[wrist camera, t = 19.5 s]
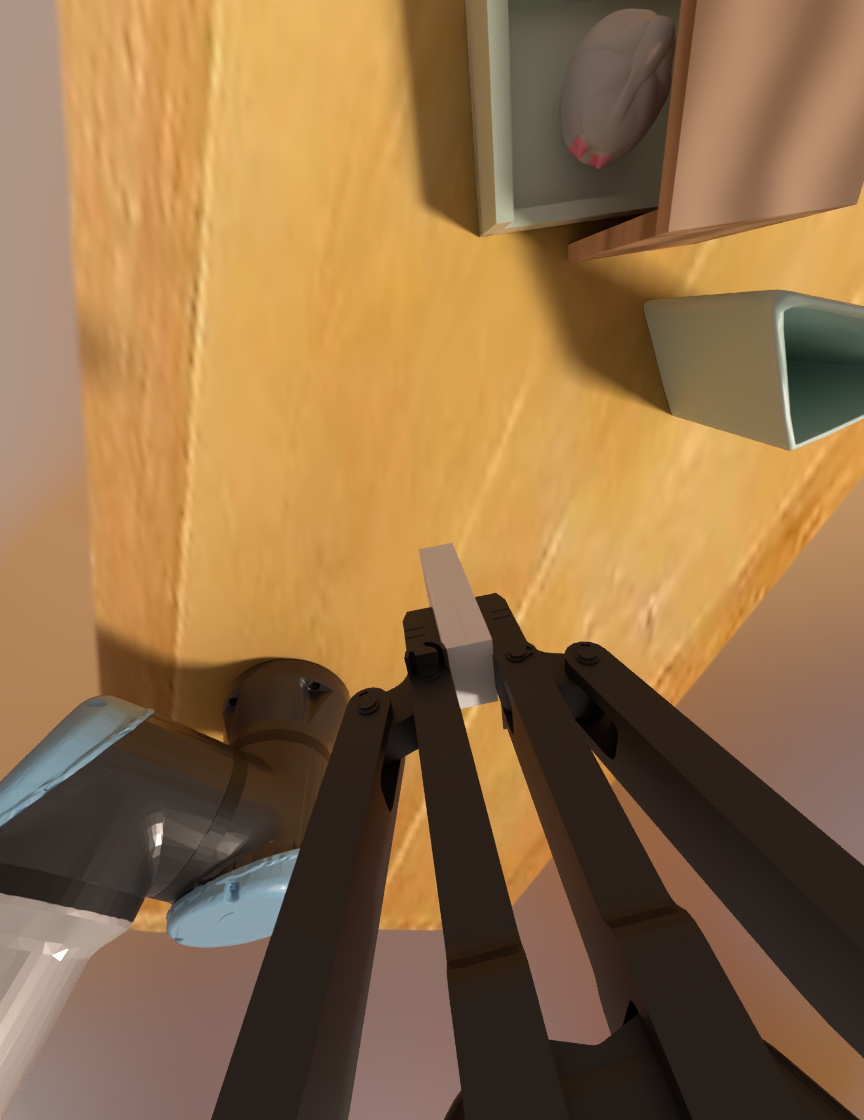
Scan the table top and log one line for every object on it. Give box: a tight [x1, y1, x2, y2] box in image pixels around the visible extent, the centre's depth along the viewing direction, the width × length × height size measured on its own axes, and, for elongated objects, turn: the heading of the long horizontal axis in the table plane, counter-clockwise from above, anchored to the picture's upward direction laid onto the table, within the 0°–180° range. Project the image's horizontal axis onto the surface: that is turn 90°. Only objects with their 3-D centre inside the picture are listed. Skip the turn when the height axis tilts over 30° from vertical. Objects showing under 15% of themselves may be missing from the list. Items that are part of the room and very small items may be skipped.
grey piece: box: [644, 290, 864, 451], centre depth 31 cm, size 16×8×20 cm, turn 74°
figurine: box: [559, 9, 676, 169], centre depth 26 cm, size 6×7×8 cm
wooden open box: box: [568, 0, 864, 263], centre depth 24 cm, size 11×17×13 cm, turn 8°
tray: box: [465, 0, 681, 237], centre depth 28 cm, size 15×12×5 cm
